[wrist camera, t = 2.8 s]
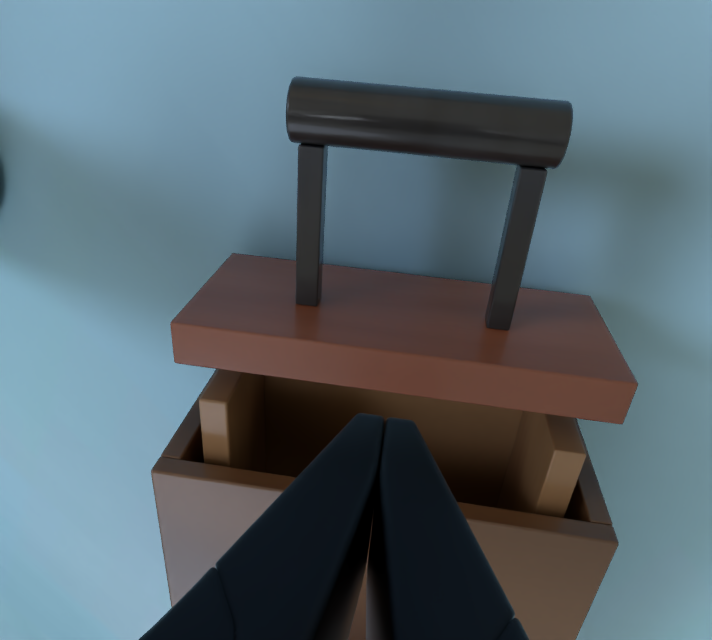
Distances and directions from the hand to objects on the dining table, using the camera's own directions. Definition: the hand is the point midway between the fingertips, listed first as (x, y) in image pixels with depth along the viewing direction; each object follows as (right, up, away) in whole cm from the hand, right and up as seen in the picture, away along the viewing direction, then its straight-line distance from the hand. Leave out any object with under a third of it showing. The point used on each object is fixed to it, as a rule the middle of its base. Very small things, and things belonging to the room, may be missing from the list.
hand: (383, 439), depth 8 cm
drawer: (+1, +1, +10) cm, 10 cm away
